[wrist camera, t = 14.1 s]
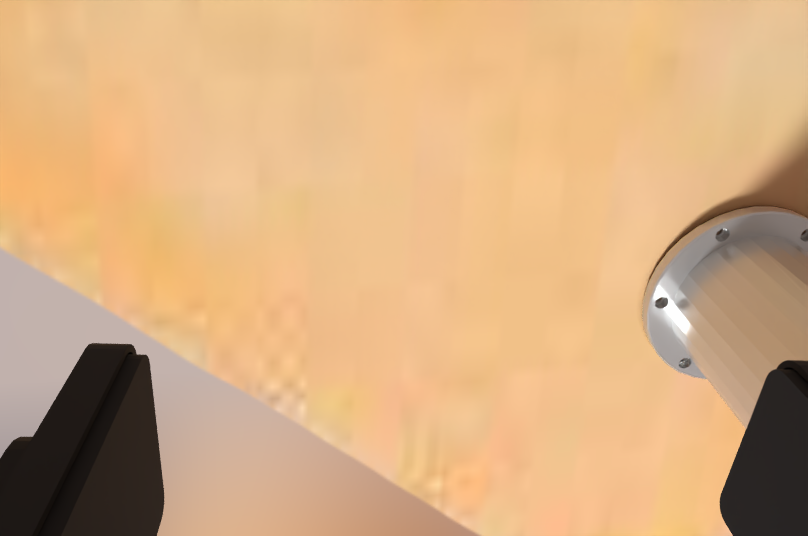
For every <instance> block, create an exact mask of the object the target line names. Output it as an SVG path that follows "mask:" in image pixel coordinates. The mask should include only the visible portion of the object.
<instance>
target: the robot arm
mask: <svg viewBox="0 0 808 536" xmlns="http://www.w3.org/2000/svg"><path fill="white" fill-rule="evenodd" d="M642 319H643V326H644V331H645V333H646V335H647V338H648V340H649V343H650V344H651V345H652V347H653V348H654V350H655V351H656V353H657V354H658V355H659V357H660V358H661V359H662V360H663V361H664V362H665V363H666V364H667V365H669V366H670V367H672V368H673V369H675V370H676V371H678V372H680V373H683V374H686V375H689V376H691V377H695V378H702V379H707V380H708V381H709V382H710V384H711V385H712V386H713V387H714V389H715V390H716V391H717V393H718V394H719V395H720V397H721V398H722V399H723V400H724V402H725V403H726V404H727V406H728V407H729V408H730V410H731V411H732V412H733V413H734V415H735V416H736V417H737V419H738V420H739V421H740V422H741V424H742V425H743V426H744V428H745V429H746V431H745V434H744V436H743V439H742V442H741V444H740V447H739V449H738V452H737V454H736V457H735V460H734V462H733V465H732V467H731V470H730V473H729V475H728V478H727V480H726V483H725V486H724V488H723V491H722V493H721V497H720V511H721V514H722V517H723V519H724V521H725V523H726V525H727V526H728V528H729V530H730V531H731V533H732V535H733V536H808V218H806V217H805V216H803V215H801V214H798V213H796V212H794V211H792V210H788V209H784V208H779V207H774V206H754V207H749V208H743V209H737V210H734V211H731V212H728V213H725V214H722V215H719V216H716V217H715V218H713V219H711V220H709V221H707V222H705V223H703V224H701V225H699V226H698V227H696V228H695V229H694V230H692V231H691V232H689V233H688V234H687V235H685V236H684V237H683V238H681V239H680V240H679V241H678V242H677V243H676V244H675V245H674V246H673V247H672V248H671V249H670V250H669V251H668V252H667V254H666V255H665V256H664V258H663V259H662V260H661V262H660V263H659V264H658V266H657V267H656V269H655V271H654V273H653V275H652V277H651V279H650V281H649V283H648V285H647V289H646V292H645V295H644V299H643V308H642ZM163 508H164V488H163V479H162V470H161V461H160V452H159V443H158V434H157V425H156V416H155V407H154V398H153V389H152V380H151V371H150V363H149V358H148V356H147V355H136V350H135V348H134V346H133V345H131V344H99V343H92V344H89V345H88V346H87V347H86V349H85V350H84V352H83V354H82V355H81V357H80V359H79V361H78V362H77V364H76V365H75V367H74V369H73V370H72V372H71V374H70V376H69V377H68V379H67V381H66V382H65V384H64V386H63V387H62V389H61V391H60V392H59V394H58V396H57V397H56V399H55V401H54V402H53V404H52V406H51V407H50V409H49V411H48V413H47V414H46V416H45V418H44V419H43V421H42V423H41V424H40V426H39V428H38V430H37V431H36V433H35V434H34V436H33V437H19V438H17V439H15V440H13V442H12V443H11V444H10V445H9V447H8V448H7V449H6V450H5V452H4V454H3V455H2V457H1V458H0V536H157V533H158V529H159V526H160V522H161V519H162V515H163Z"/></svg>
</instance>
